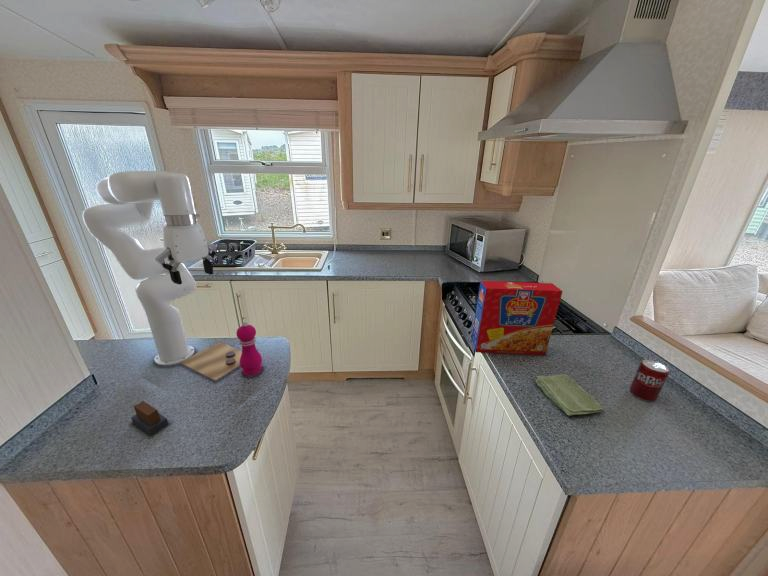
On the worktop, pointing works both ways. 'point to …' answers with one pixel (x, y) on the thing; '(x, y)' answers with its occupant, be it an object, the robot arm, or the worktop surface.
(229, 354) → the crumb
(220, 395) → the worktop surface
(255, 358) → the pepper mill
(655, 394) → the soda can
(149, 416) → the eraser
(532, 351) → the pasta box
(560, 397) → the washcloth
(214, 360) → the cutting board
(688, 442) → the worktop surface
